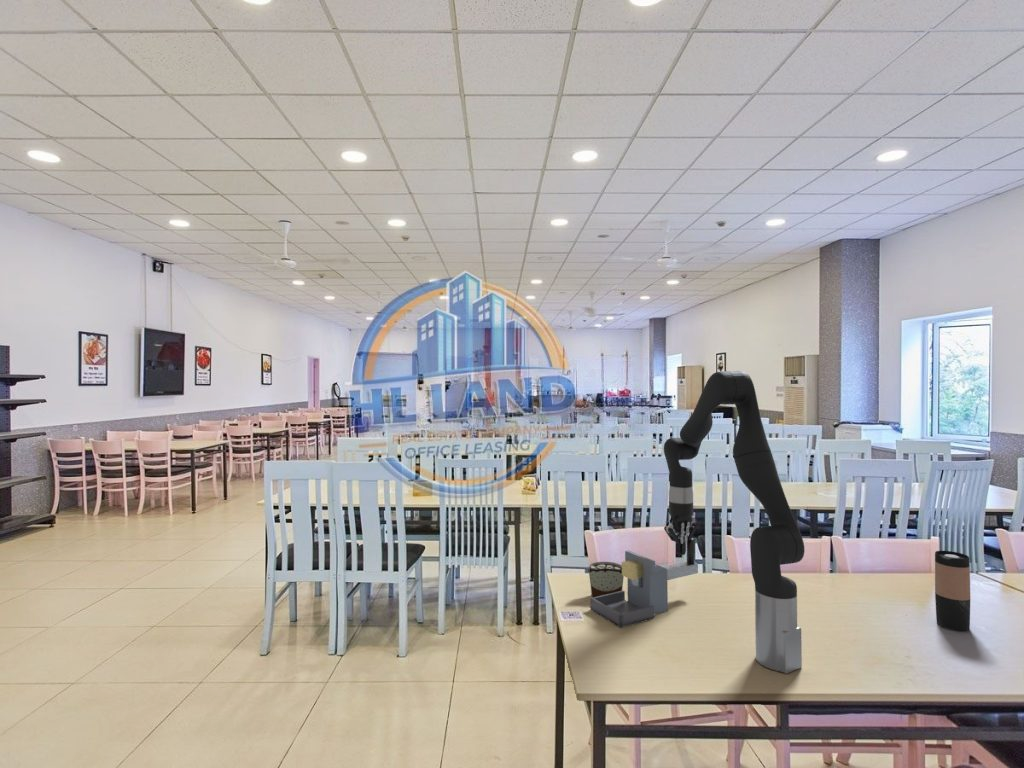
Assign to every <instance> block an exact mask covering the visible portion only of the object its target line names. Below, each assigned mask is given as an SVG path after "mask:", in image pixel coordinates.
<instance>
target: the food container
mask: <svg viewBox="0 0 1024 768" xmlns="http://www.w3.org/2000/svg"><path fill="white" fill-rule="evenodd" d="M586 570H587V571H586V574H588V576H589V582H590V593H591V594H590V595H591V598H593V597H597V596H601V595H606V594H610V593H614V592H618V591H623V585H624V578H625V576H623V575H622V564H620V563H618V562H617V563H616V562H614V561H613V562H612V561H595V562H592V563H590V564H589V565H588V567H587V569H586Z"/></svg>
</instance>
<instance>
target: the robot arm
mask: <svg viewBox="0 0 1024 768" xmlns="http://www.w3.org/2000/svg"><path fill="white" fill-rule="evenodd" d="M754 384H755V383H754V382H753V380H752V378H751V376H750V375H749V374H748V373H747V372H746V371H741V370H730V371H729V370H726V371H725V370H724V371H723V370H722V371H716V372H714V373H712V374H711V375H710V376H709V377H708V379H707V381H706V383H705V385H704V387H703V389H702V391H701V394H700V396H699V398H698V401H697V403H696V405H695V408H694V409H693V412H692V413H691V416H689V417H688V419H687V420H686V422H685V423H684V425H683V426H682V428H681V429H680V431H679V437H670V438H668V439H666V441H665V442H664V445H663V454H664V457H665V460H666V464H667V465H666V466H667V468H668V472H669V479H668V480H669V489H668V514H669V515H670V519H669V524H668V525H667V526H664V527H663V529H664V531H665V533H666V534H667V536H668V537H669V539H670V540H671V541H672V542H675V547H676V549H675V550H676V553H677V555H679V556H685V555H686V554H687V541H688V540H691V538H693V536H694V534H695V532H696V531H697V528H698V523H696V522H694V521H693V518H692V516H693V515H694V491H693V471H692V469H691V468H689V467H688V466H687V467H686V466H681V463H680V461H682V460H683V461H687V460H692V459H695V458H696V457H697V456H698V454H699V451H700V448H701V444H702V442H703V441H704V440H705V439H706V437H707V436H708V434H709V433H710V431H711V430H712V428H713V414H712V413H713V412H714V410H715V409H716V408H717V407H719V406H721V405H735V408H736V411H737V415H738V420H739V422H738V423H739V425H738V431H737V434H736V436H735V440H734V442H733V447H732V456H733V459H734V464H735V467H736V471H737V473H738V477H739V478H740V480H741V482H742V483H743V484H744V486H745V487H746V488H747V490H749V491H750V492H751V494H752V495H753V496H754V497H755V498H756V499H757V500H758V501H759V502H760V504H761V505H762V506H763V509H764V510H765V513H766V515H767V518H768V520H769V524H770V525H766V526H765V525H764V526H759V527H756V528H755V529H754V530H752V533H751V535H750V543H749V549H750V550H749V551H750V562H751V564H750V565H751V575H752V579H753V581H754V598H755V599H754V602H755V603H754V604H755V605H754V607H755V608H754V609H755V611H754V612H755V616H754V617H755V618H754V620H755V621H754V622H755V623H754V624H755V629H754V630H755V659H756V662H758V664H760V665H761V666H763V667H765V668H767V669H769V670H773V671H776V672H781V673H782V674H788V673H792V672H793V671H796V670H799V669H802V667H803V665H802V664H803V663H802V662H803V661H802V659H803V657H802V654H803V652H802V650H803V649H802V628H801V627H800V626H798V587H797V583H796V582H795V581H794V580H793V579H791V578H789V577H787V576H784V575H782V571H781V566H782V565H790V564H791V565H792V564H796V563H799V562H801V561H802V560H803V558H804V555H805V544H804V539H803V536H802V532H801V531H800V529H799V525H798V523H797V521H796V519H795V517H794V514H793V512H792V510H791V507H790V505H789V503H788V500H787V497H786V495H785V492H784V488H783V486H782V483H781V479H780V476H779V474H778V470H777V467H776V463H775V459H774V457H773V452H772V450H771V447H770V445H769V442H768V439H767V438H768V437H767V435H766V432H765V429H764V425H763V421H762V418H761V413H760V409H759V403H758V397H757V393H756V389H755V386H754Z"/></svg>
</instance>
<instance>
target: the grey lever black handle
mask: <svg viewBox="0 0 1024 768" xmlns="http://www.w3.org/2000/svg"><path fill="white" fill-rule="evenodd" d="M662 567H663V568H666V569H667V581H671V580H674V579H679V578H683V577H687V576H692V575H695V574H699V564H698V563H697V562H696V538H695V537H692V538H691V540H688V541H687V543H686V561H685V562H681V563H676V564H671V565H667V566H666V565H665V566H662ZM632 584H633V585H635V586H637V587H641V586H642V578H638V579H633V580H632Z"/></svg>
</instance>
